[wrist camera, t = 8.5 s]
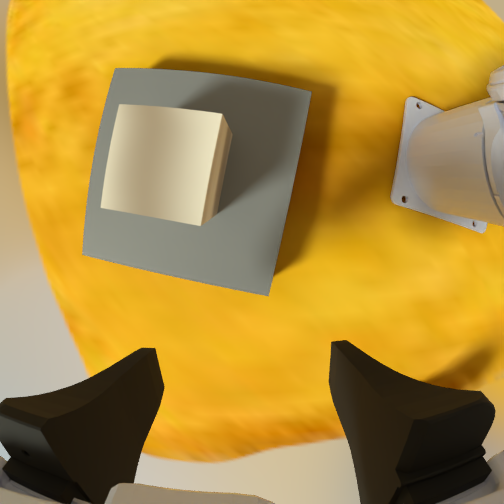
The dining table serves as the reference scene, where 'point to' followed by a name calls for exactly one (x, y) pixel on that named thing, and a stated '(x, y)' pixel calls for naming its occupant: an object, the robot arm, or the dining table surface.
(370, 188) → the dining table surface
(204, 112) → the cream cube
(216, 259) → the base plinth
